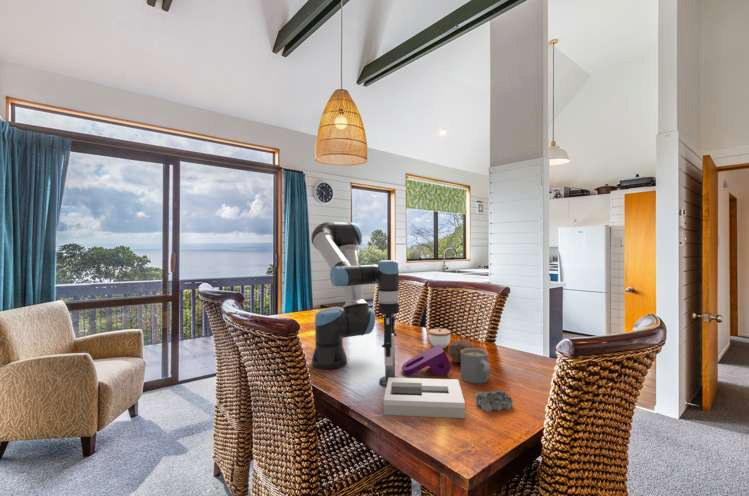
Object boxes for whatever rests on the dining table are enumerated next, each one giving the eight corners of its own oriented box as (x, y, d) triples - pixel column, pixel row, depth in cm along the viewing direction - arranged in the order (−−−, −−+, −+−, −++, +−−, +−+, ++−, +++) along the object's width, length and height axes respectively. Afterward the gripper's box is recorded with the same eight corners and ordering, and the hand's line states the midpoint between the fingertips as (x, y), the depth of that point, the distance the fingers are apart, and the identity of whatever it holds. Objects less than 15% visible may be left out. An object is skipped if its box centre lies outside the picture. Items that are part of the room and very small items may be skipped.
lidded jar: (426, 344, 181) (426, 325, 181) (447, 343, 182) (446, 325, 182) (432, 350, 170) (432, 331, 170) (454, 349, 172) (453, 330, 171)
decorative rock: (468, 369, 145) (467, 344, 145) (443, 363, 152) (442, 340, 151) (480, 360, 155) (479, 337, 155) (456, 355, 162) (455, 333, 162)
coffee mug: (456, 374, 139) (456, 349, 139) (480, 372, 141) (480, 347, 141) (471, 388, 126) (471, 360, 126) (497, 385, 127) (497, 358, 127)
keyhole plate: (383, 414, 107) (383, 399, 107) (388, 390, 125) (388, 377, 125) (465, 418, 104) (464, 402, 104) (458, 392, 122) (458, 379, 122)
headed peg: (378, 386, 129) (377, 336, 128) (380, 378, 137) (379, 331, 136) (400, 387, 128) (399, 337, 127) (401, 378, 136) (400, 331, 135)
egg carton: (483, 413, 108) (483, 400, 107) (472, 402, 115) (472, 390, 115) (515, 410, 109) (515, 397, 109) (503, 399, 117) (503, 387, 117)
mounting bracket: (413, 392, 138) (454, 370, 138) (403, 373, 137) (444, 351, 138) (409, 382, 147) (447, 362, 148) (400, 364, 147) (438, 344, 147)
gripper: (397, 307, 119) (398, 371, 119) (400, 297, 144) (401, 349, 144) (374, 307, 120) (376, 370, 120) (382, 297, 145) (383, 349, 145)
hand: (390, 359), depth 132 cm, fingers open, 13 cm apart
